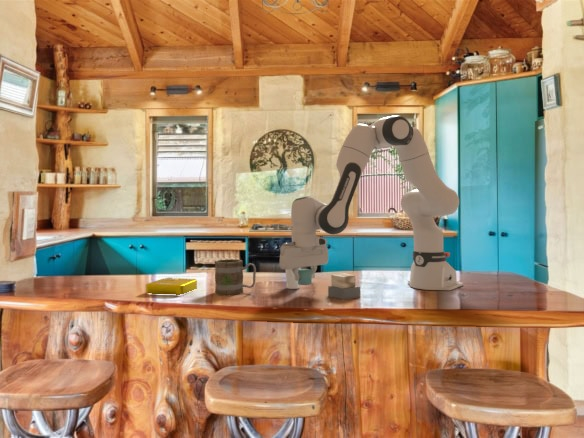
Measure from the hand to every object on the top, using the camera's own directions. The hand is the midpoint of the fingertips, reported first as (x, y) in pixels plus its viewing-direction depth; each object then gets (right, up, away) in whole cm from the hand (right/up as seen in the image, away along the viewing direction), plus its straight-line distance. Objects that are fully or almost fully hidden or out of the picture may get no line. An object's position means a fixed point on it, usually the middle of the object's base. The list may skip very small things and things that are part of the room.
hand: (304, 279), depth 148 cm
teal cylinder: (0, -2, 0) cm, 2 cm away
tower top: (+14, -2, -2) cm, 14 cm away
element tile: (-51, -7, +9) cm, 52 cm away
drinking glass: (-4, -6, +13) cm, 15 cm away
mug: (-26, -6, +6) cm, 27 cm away
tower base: (+14, -6, -3) cm, 16 cm away
